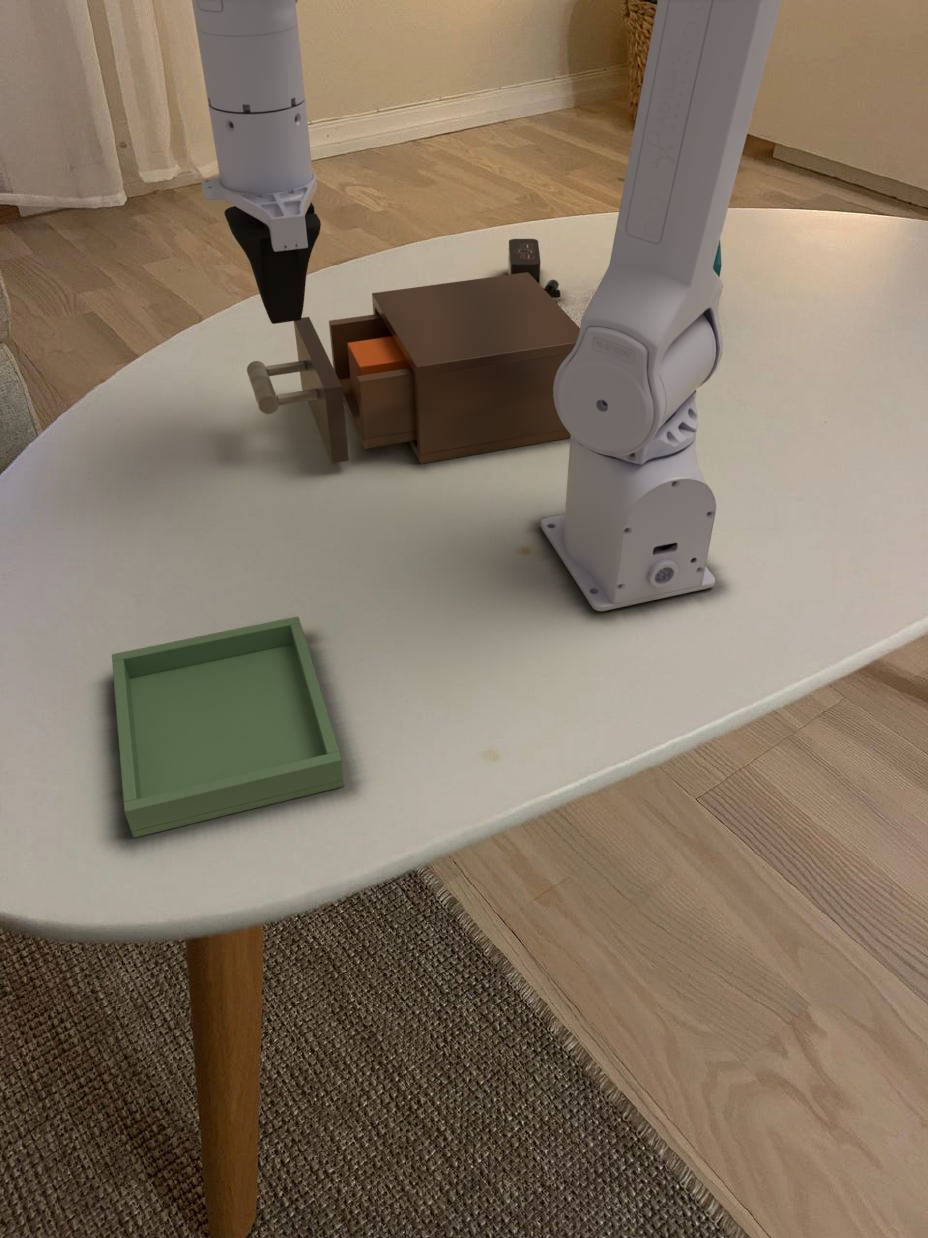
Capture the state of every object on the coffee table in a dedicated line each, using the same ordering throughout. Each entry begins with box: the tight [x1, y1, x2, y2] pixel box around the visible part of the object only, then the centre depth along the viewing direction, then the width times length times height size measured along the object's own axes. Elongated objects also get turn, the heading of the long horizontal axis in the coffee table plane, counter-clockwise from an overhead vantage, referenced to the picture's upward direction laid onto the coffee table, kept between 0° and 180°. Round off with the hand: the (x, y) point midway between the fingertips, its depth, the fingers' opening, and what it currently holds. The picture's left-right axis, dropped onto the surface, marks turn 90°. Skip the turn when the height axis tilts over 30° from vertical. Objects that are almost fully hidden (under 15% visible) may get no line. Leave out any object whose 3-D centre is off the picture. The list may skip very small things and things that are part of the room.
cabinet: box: [371, 272, 580, 465], centre depth 76 cm, size 13×13×8 cm
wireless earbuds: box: [507, 238, 561, 299], centre depth 95 cm, size 5×7×3 cm, turn 179°
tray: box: [111, 616, 346, 838], centre depth 52 cm, size 11×10×2 cm
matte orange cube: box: [347, 336, 411, 406], centre depth 74 cm, size 4×5×4 cm
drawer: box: [246, 314, 417, 464], centre depth 74 cm, size 16×11×6 cm
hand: (284, 317), depth 69 cm, fingers closed
